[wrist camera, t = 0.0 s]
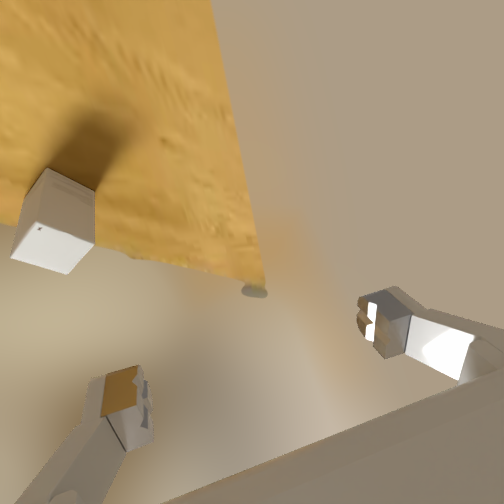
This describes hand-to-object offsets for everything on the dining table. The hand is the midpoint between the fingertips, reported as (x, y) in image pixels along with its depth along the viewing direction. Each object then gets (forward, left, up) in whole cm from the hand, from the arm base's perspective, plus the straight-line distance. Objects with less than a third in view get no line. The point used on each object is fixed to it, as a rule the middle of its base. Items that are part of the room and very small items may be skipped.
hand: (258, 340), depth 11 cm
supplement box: (+33, 0, -52) cm, 62 cm away
